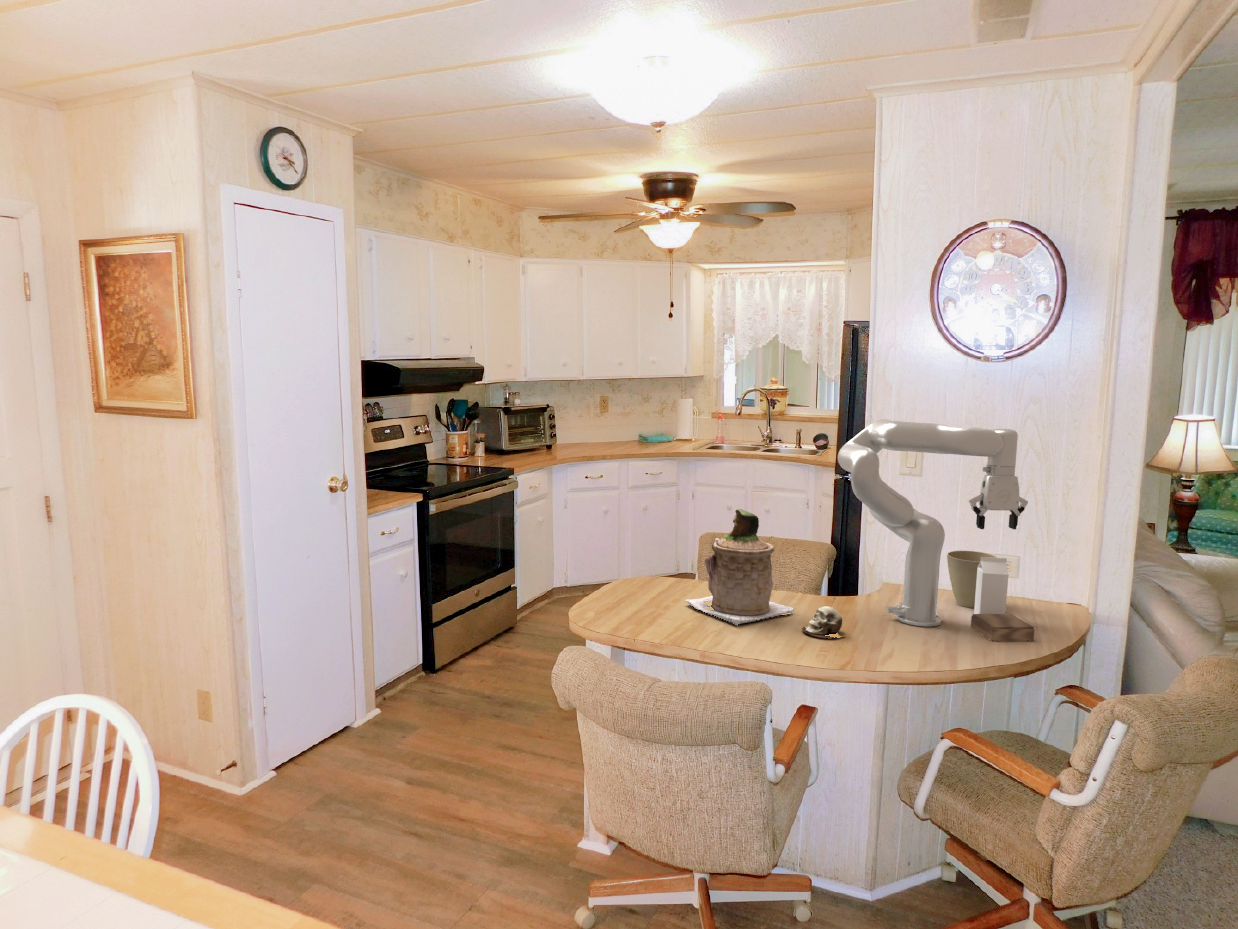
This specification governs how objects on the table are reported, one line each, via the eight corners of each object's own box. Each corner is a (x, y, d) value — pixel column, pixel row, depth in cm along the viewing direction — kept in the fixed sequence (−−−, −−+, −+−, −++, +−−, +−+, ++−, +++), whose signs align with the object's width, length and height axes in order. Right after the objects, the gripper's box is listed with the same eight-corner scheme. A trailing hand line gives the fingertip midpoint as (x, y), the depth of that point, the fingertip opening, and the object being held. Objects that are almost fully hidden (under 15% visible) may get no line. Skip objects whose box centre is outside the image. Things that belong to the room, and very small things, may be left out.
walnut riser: (991, 641, 228) (992, 627, 228) (970, 627, 240) (971, 613, 240) (1033, 641, 229) (1034, 627, 228) (1010, 627, 241) (1011, 613, 240)
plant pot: (969, 596, 272) (973, 548, 270) (1004, 609, 258) (1009, 559, 256) (933, 600, 267) (936, 551, 265) (967, 613, 253) (971, 562, 251)
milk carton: (1004, 624, 243) (1009, 561, 241) (978, 622, 245) (983, 559, 242) (998, 616, 250) (1003, 555, 248) (973, 615, 252) (978, 554, 249)
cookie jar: (796, 614, 249) (801, 510, 245) (736, 628, 235) (740, 518, 231) (741, 594, 269) (744, 497, 265) (682, 606, 256) (684, 504, 251)
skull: (815, 639, 224) (804, 604, 230) (802, 654, 233) (792, 620, 238) (855, 635, 227) (844, 601, 233) (841, 650, 235) (830, 616, 241)
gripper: (978, 472, 237) (974, 531, 240) (1036, 473, 238) (1031, 531, 241) (966, 469, 245) (962, 525, 247) (1022, 469, 246) (1018, 526, 248)
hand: (996, 528), depth 244 cm, fingers open, 9 cm apart
